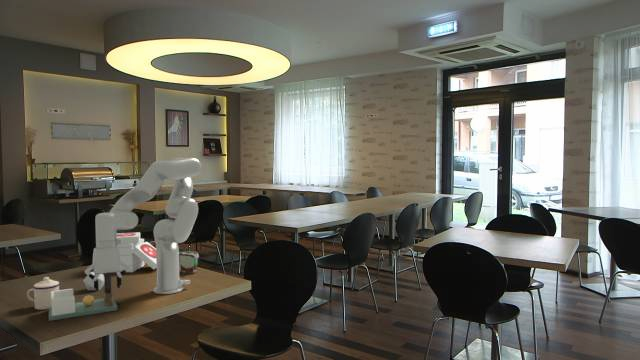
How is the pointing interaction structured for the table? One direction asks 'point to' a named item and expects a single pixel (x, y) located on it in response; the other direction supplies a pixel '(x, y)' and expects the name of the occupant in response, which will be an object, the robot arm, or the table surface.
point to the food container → (188, 261)
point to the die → (90, 283)
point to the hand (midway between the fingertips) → (107, 288)
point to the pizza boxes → (136, 251)
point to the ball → (88, 300)
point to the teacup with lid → (43, 293)
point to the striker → (107, 289)
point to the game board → (74, 306)
